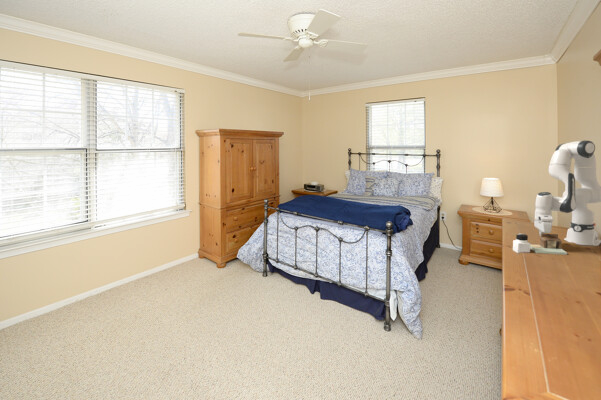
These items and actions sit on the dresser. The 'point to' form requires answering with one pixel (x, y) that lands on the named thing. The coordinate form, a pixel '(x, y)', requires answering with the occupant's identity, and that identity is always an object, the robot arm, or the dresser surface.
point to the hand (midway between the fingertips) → (541, 236)
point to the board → (547, 250)
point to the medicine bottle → (521, 243)
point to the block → (551, 244)
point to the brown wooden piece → (550, 238)
